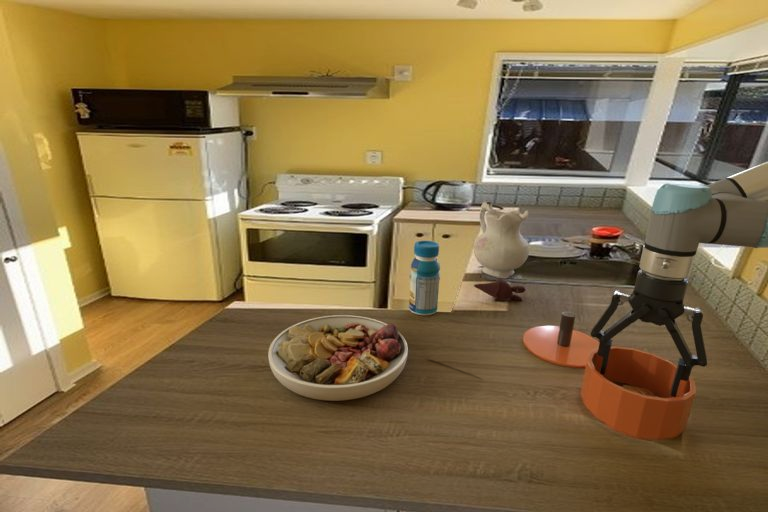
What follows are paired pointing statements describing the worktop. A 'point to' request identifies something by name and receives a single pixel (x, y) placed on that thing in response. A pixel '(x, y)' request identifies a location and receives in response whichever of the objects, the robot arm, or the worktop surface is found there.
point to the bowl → (338, 357)
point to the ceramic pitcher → (501, 242)
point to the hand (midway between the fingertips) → (636, 381)
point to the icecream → (501, 290)
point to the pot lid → (561, 343)
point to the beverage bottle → (424, 278)
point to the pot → (637, 394)
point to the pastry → (639, 390)
